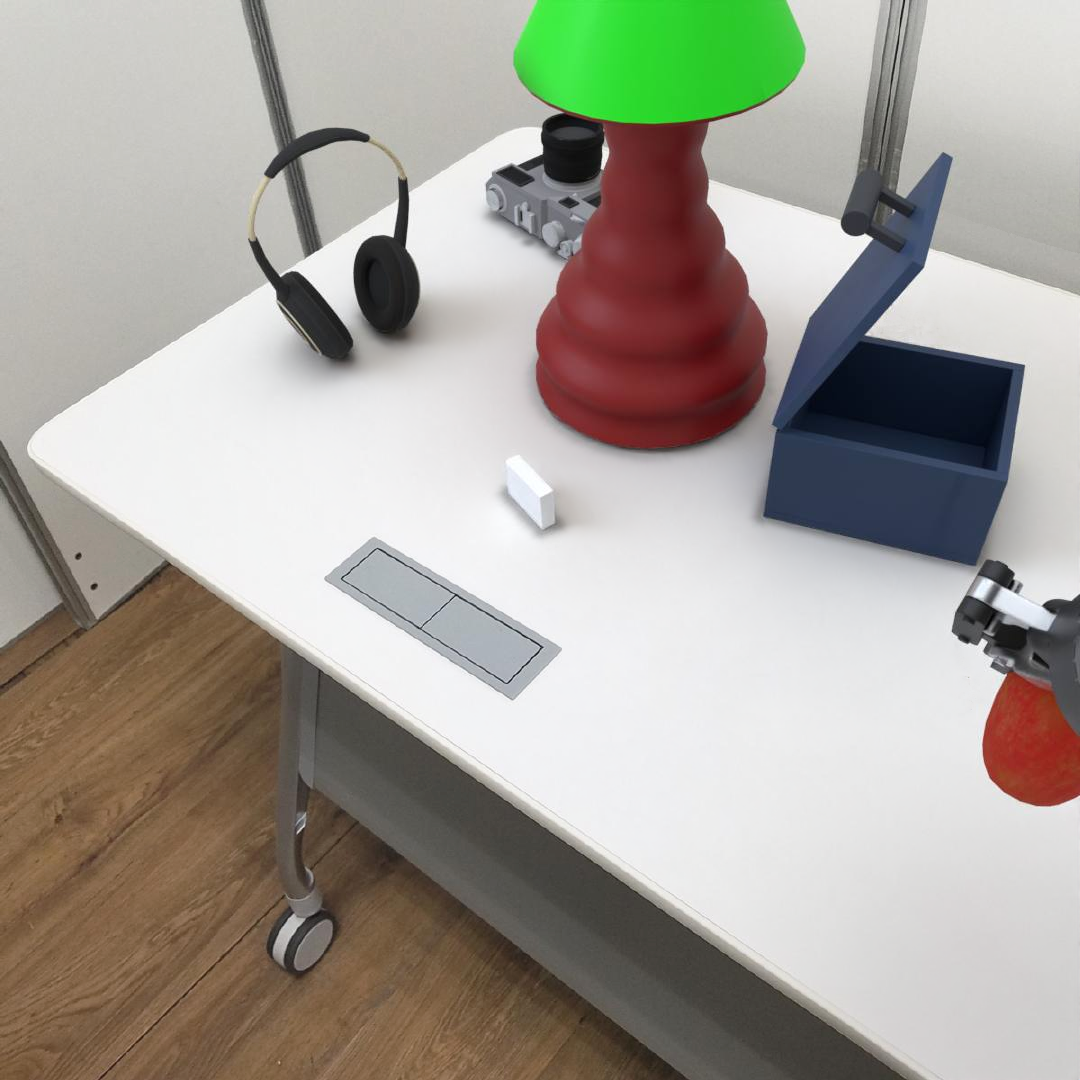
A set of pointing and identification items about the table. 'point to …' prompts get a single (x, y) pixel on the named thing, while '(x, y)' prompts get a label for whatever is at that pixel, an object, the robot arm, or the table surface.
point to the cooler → (901, 449)
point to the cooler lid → (866, 277)
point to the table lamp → (654, 213)
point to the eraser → (530, 491)
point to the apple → (1031, 745)
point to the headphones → (378, 266)
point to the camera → (554, 183)
